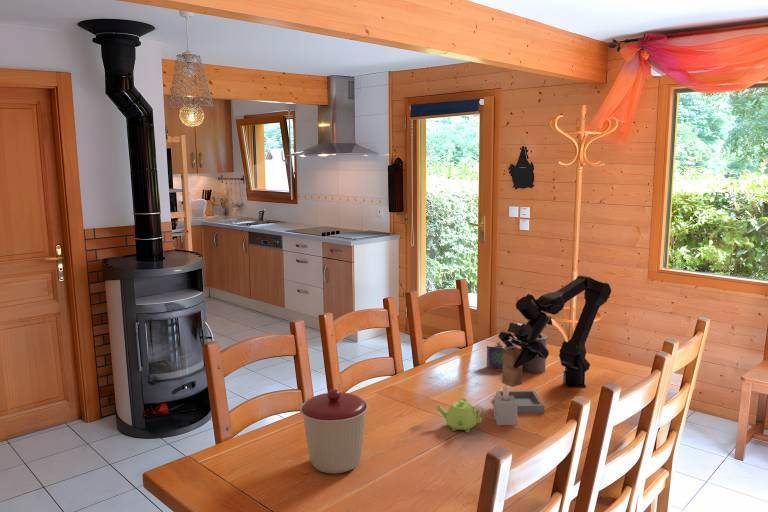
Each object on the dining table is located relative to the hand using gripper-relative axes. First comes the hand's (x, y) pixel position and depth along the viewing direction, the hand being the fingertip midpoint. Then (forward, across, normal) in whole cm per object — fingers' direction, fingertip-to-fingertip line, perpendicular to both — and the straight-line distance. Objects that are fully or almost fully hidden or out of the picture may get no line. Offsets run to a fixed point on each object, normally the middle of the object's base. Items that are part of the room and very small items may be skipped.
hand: (509, 365), depth 202 cm
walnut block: (+4, 0, +6) cm, 7 cm away
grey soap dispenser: (+17, +9, +2) cm, 19 cm away
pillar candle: (-12, -19, +32) cm, 39 cm away
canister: (+57, +4, -38) cm, 69 cm away
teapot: (+27, +4, -8) cm, 29 cm away
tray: (+8, +3, +11) cm, 14 cm away
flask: (-5, -28, +25) cm, 38 cm away
